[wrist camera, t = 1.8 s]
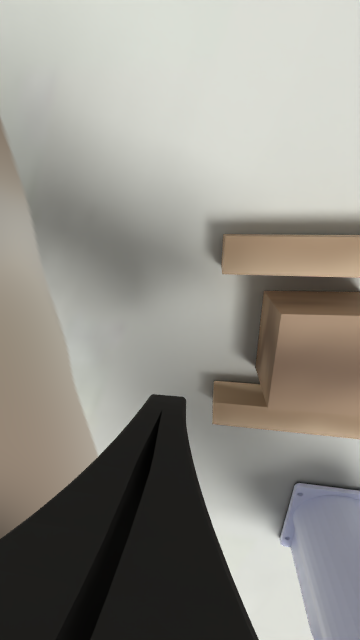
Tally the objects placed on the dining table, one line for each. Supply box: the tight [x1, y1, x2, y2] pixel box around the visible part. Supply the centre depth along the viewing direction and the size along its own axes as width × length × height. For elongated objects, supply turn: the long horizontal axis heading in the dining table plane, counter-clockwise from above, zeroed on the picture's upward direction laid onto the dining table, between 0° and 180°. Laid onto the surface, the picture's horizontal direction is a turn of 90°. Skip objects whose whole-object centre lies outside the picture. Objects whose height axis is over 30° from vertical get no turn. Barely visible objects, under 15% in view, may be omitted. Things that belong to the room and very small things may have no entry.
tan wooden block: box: [255, 291, 360, 416], centre depth 15 cm, size 6×6×4 cm
